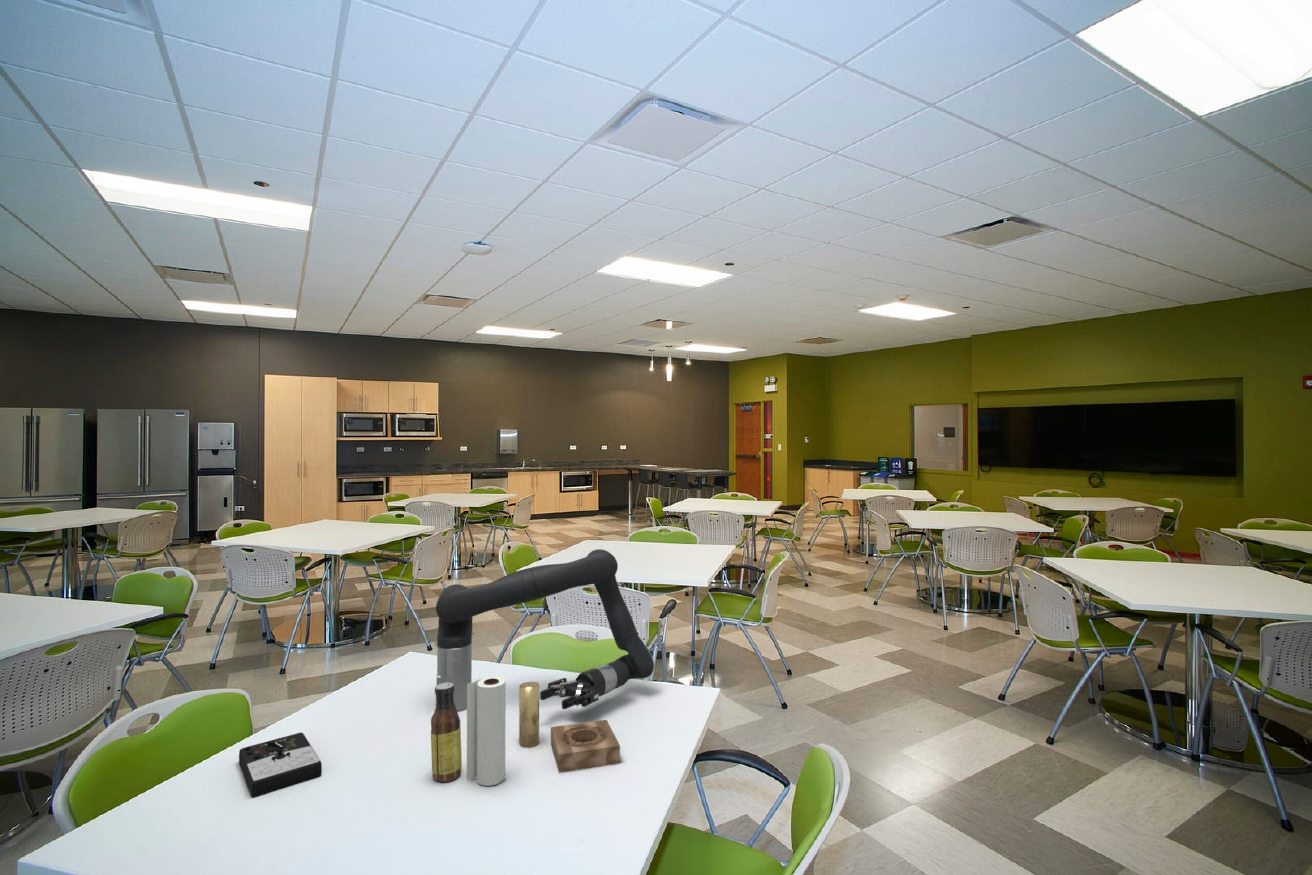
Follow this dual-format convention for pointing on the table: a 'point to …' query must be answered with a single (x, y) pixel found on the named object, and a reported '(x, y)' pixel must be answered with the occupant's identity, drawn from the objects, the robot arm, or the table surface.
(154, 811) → the table surface
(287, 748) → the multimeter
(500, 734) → the paper towel roll
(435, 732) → the sauce bottle
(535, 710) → the yellow cylinder peg
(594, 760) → the jig
